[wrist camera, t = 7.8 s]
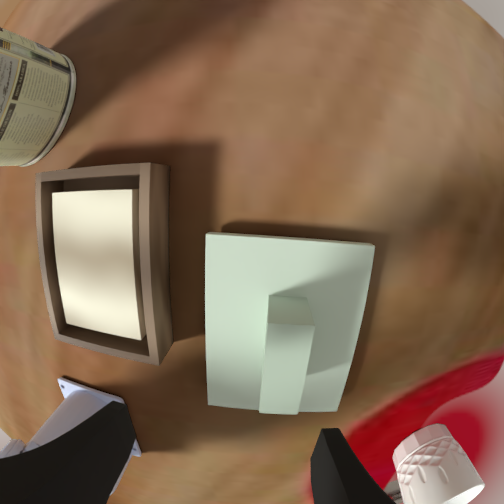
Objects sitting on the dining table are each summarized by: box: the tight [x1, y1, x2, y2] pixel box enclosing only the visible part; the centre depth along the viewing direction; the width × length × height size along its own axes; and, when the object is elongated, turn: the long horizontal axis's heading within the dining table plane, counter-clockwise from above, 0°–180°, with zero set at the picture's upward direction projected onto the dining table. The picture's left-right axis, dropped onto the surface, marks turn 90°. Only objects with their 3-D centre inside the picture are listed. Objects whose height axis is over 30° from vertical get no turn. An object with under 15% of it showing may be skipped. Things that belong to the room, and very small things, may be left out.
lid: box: [205, 232, 375, 414], centre depth 15 cm, size 13×10×4 cm
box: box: [36, 163, 173, 366], centre depth 16 cm, size 12×9×3 cm
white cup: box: [393, 423, 485, 504], centre depth 16 cm, size 8×8×10 cm
